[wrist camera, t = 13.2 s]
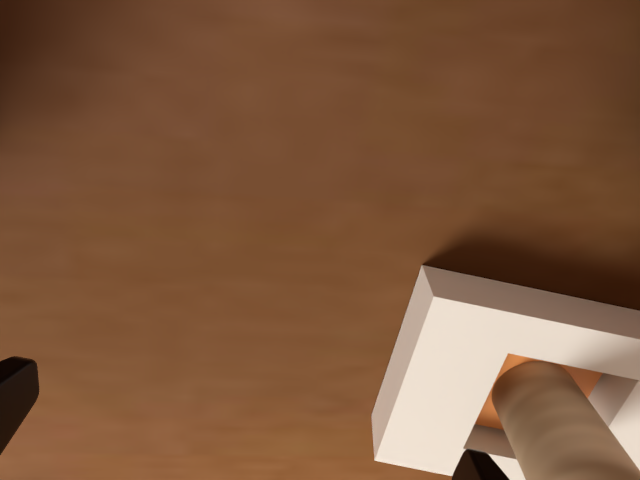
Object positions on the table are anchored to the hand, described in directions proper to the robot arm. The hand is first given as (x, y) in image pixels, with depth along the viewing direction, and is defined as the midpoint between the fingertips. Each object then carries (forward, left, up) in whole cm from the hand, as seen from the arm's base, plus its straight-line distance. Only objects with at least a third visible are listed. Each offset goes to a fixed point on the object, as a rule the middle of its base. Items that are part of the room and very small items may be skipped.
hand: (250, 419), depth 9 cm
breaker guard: (+13, -6, -12) cm, 19 cm away
